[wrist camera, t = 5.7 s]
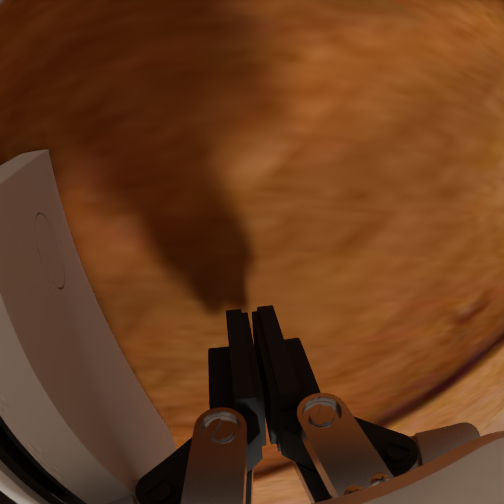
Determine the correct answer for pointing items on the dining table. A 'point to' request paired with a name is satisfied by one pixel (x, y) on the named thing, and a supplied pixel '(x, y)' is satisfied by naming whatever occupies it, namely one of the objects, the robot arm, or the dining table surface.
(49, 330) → the hinge
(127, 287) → the dining table surface
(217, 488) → the robot arm
